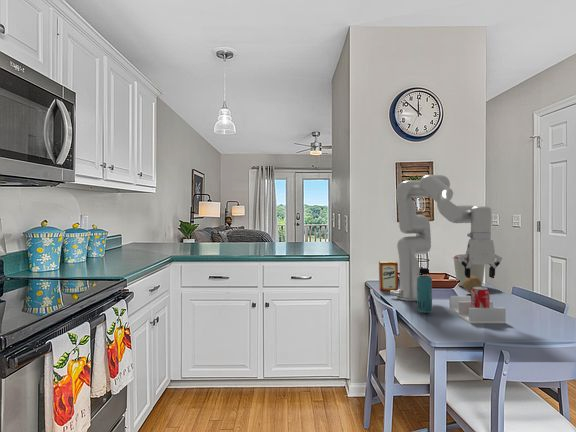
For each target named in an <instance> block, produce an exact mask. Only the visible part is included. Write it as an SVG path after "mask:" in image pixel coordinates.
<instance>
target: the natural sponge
mask: <svg viewBox="0 0 576 432" xmlns="http://www.w3.org/2000/svg"><path fill="white" fill-rule="evenodd" d="M473 287H482V285H481V281H480V279H479V278H478V277H476V276H470V278H466V279H465V281H464V282H463V289H464V290H466V291H467V292H468V293H469V294H470V295H471V291H472V289H473Z"/></svg>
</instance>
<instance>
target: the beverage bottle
mask: <svg viewBox="0 0 576 432" xmlns="http://www.w3.org/2000/svg"><path fill="white" fill-rule="evenodd" d="M419 274H422V275H419V277H418V278H417V301H416V308H417V311H418V312H421V313H432V312H433V286H432V284H433V283H432V282H433V279H432V277H431V276H429V274H430V269H429V268H426V267H421V268H420V267H419ZM423 274H424V275H423ZM427 274H428V275H427Z"/></svg>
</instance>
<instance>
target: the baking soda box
mask: <svg viewBox="0 0 576 432" xmlns="http://www.w3.org/2000/svg"><path fill="white" fill-rule="evenodd" d="M398 265H399V264H398V261H394V260H388V261H381V260H380V261H378V288H379V291H380V292H390V291H396V290H398V289H399V275H398V274H399V270H398V269H399V266H398Z"/></svg>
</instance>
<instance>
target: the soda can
mask: <svg viewBox="0 0 576 432" xmlns="http://www.w3.org/2000/svg"><path fill="white" fill-rule="evenodd" d="M470 296H471V308H490V297H491V295H490V292H489V290H488V287H485V286H481V287H473V289H472V291H471V294H470Z"/></svg>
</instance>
